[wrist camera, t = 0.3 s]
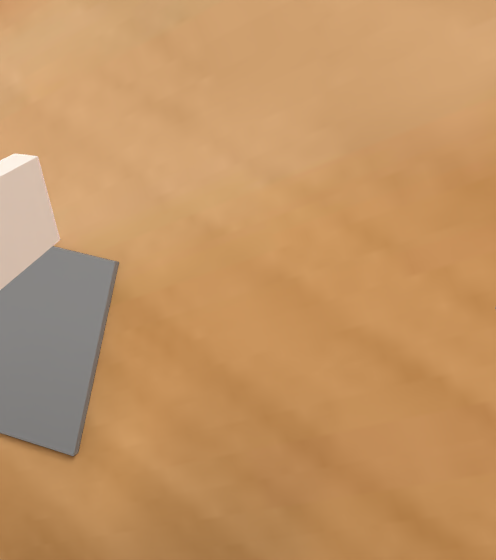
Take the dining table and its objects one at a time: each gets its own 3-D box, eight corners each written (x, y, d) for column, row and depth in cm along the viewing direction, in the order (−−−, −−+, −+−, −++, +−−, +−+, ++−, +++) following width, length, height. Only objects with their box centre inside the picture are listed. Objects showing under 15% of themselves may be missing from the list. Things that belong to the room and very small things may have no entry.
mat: (77, 452, 31) (73, 456, 30) (-88, 400, 33) (-95, 402, 32) (119, 262, 30) (115, 261, 29) (-53, 220, 32) (-60, 219, 31)
